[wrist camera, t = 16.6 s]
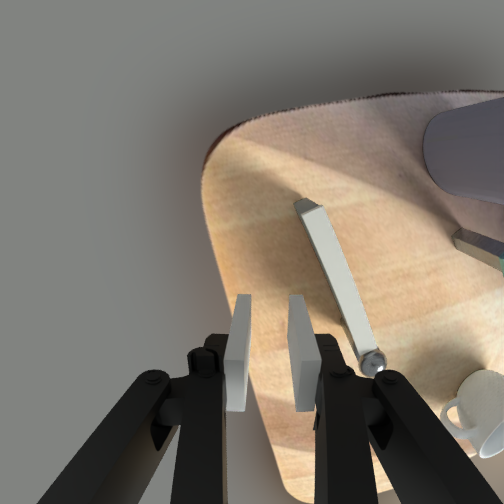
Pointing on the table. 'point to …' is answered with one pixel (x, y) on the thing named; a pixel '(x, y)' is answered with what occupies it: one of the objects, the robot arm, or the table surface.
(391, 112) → the table surface
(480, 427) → the mug
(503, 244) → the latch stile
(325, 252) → the grey flat board
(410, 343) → the table surface
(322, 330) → the table surface
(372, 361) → the hinge post
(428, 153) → the container
